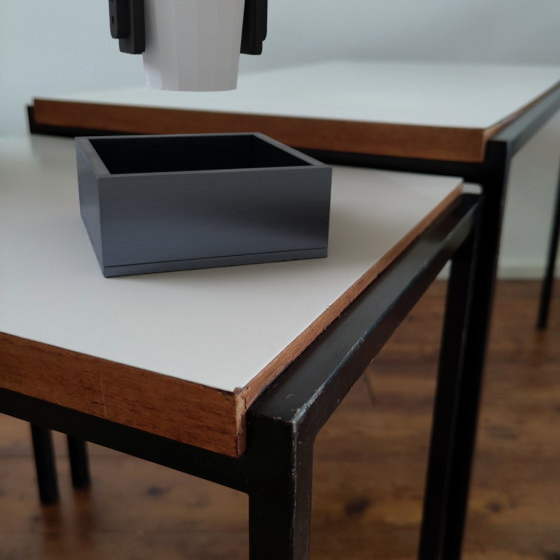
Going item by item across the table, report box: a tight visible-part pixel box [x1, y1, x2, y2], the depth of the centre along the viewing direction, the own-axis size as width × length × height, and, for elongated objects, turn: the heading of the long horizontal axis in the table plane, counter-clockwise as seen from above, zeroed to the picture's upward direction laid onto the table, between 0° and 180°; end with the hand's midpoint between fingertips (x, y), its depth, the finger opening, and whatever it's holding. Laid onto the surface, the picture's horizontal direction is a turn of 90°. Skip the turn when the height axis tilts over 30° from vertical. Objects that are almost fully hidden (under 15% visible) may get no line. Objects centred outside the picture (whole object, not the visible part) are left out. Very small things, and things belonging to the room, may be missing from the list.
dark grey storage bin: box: [74, 131, 333, 278], centre depth 46 cm, size 14×14×6 cm
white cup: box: [141, 0, 245, 93], centre depth 42 cm, size 7×7×7 cm
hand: (191, 51), depth 43 cm, fingers closed on white cup, 6 cm apart
